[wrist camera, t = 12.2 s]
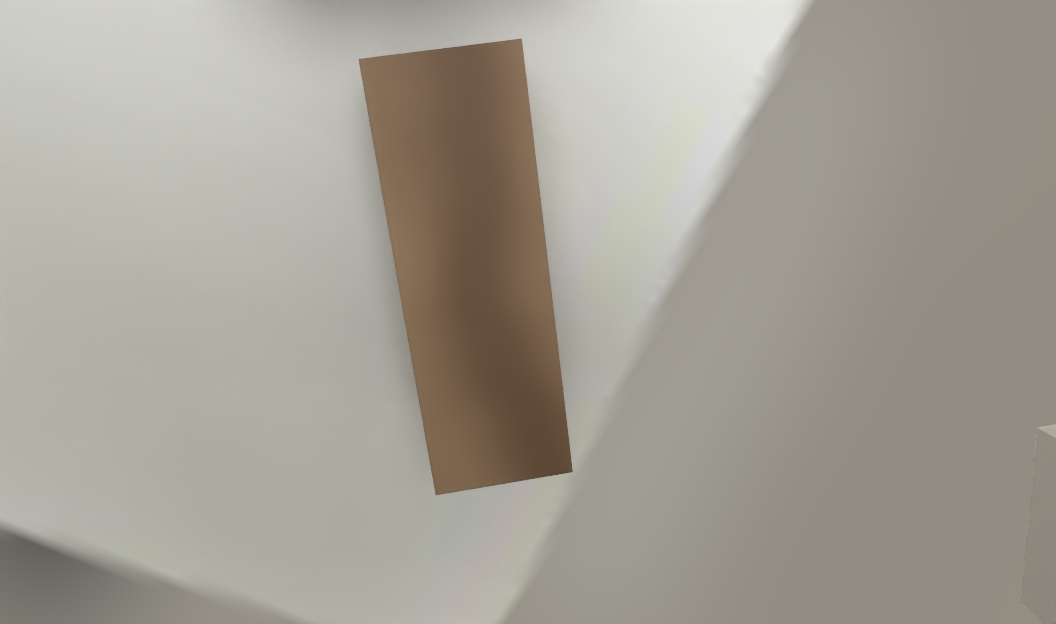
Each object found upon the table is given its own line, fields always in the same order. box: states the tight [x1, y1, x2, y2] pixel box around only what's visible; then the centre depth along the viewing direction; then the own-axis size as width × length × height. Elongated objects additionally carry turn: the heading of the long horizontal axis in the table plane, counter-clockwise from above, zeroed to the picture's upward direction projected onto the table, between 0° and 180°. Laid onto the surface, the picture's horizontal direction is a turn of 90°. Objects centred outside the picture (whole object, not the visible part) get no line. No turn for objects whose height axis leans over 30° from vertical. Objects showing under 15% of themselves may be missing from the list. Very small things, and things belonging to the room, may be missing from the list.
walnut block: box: [359, 39, 573, 495], centre depth 30 cm, size 5×15×8 cm, turn 7°
